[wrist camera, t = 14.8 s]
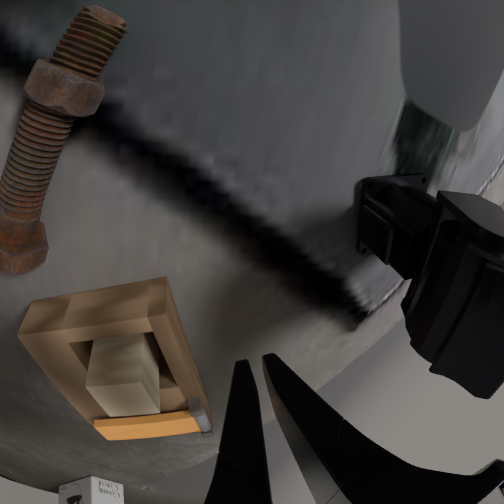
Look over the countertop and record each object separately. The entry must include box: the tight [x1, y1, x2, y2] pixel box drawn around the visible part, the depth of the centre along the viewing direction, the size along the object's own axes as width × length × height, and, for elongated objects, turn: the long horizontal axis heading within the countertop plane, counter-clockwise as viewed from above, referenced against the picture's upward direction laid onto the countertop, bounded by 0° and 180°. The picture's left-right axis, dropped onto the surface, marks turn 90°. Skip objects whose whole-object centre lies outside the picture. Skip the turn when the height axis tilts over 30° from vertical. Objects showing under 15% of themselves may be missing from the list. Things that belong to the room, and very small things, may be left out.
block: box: [17, 277, 213, 437], centre depth 22 cm, size 12×16×5 cm
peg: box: [85, 331, 160, 417], centre depth 20 cm, size 4×4×7 cm
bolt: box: [0, 5, 128, 274], centre depth 12 cm, size 6×5×15 cm
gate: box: [94, 408, 211, 440], centre depth 23 cm, size 11×3×1 cm, turn 95°
